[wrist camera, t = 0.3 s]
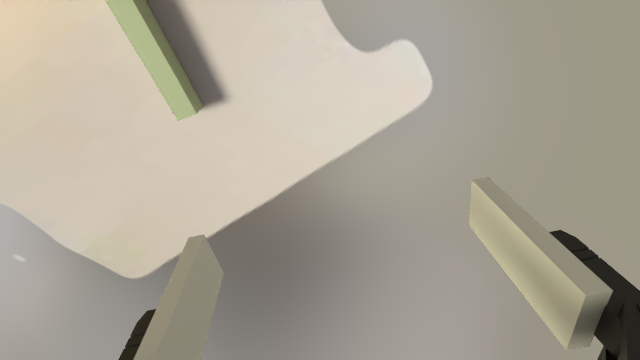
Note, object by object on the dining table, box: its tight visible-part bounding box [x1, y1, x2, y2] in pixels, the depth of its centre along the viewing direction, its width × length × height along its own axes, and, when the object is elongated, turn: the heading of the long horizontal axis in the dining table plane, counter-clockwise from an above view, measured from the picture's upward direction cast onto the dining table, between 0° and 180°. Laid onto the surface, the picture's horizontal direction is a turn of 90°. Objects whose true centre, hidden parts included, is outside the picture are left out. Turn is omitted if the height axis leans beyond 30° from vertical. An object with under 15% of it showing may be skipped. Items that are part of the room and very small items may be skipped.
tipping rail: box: [105, 0, 203, 120], centre depth 33 cm, size 18×2×3 cm, turn 19°
